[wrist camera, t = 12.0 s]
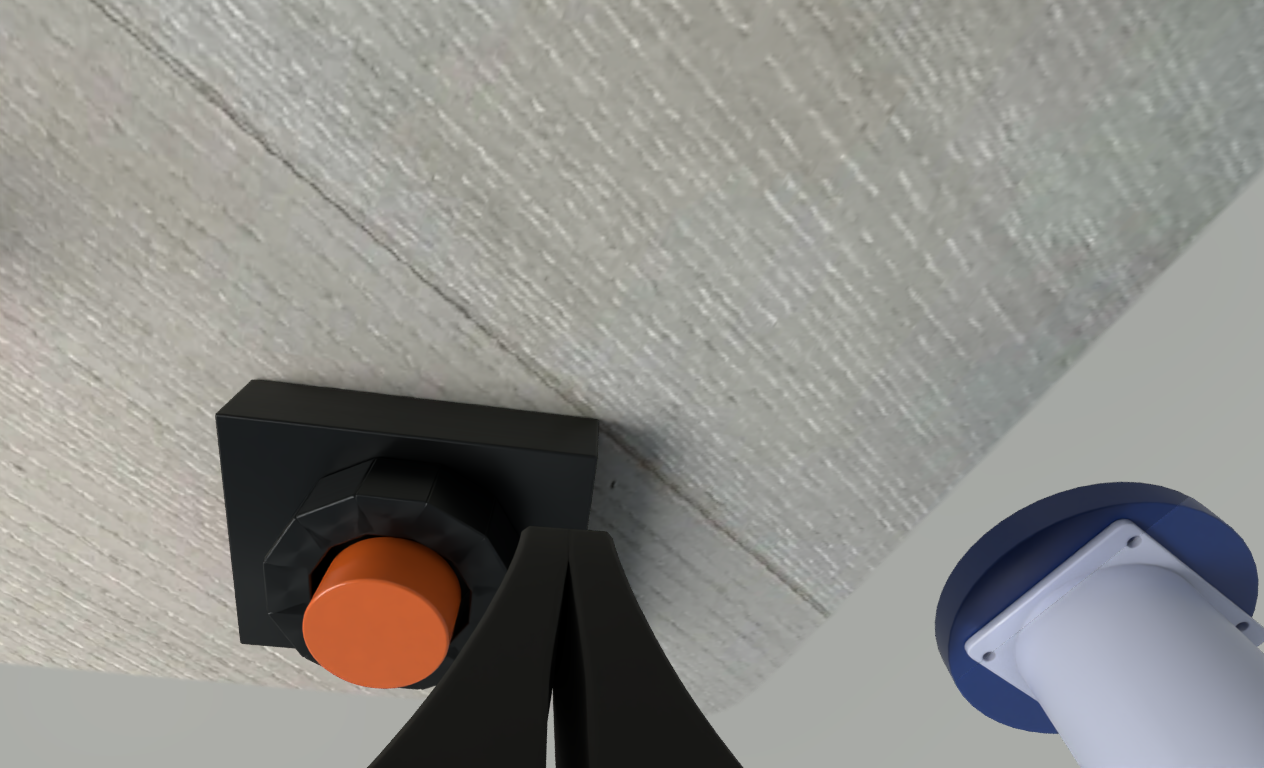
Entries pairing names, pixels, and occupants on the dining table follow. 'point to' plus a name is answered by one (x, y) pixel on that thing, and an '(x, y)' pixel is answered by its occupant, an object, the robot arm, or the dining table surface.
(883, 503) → the dining table surface
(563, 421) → the button box
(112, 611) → the dining table surface
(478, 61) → the dining table surface
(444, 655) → the button
